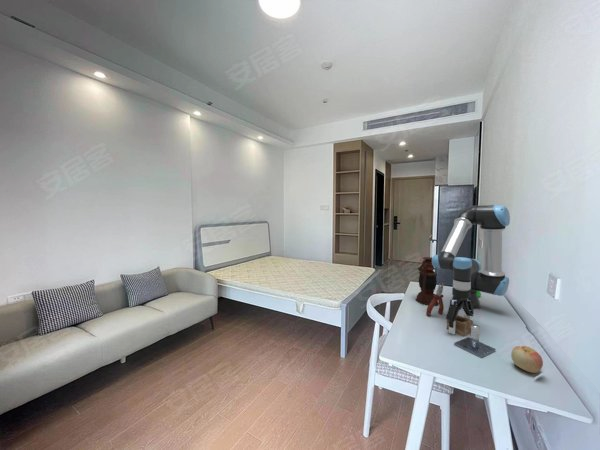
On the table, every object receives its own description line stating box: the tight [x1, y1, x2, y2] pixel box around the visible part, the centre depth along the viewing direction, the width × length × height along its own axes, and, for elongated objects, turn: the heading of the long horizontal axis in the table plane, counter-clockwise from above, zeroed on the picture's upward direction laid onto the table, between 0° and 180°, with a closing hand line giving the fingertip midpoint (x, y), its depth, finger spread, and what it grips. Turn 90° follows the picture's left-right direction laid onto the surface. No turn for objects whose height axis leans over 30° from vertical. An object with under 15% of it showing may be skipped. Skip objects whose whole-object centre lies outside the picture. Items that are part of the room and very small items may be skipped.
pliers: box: [426, 282, 445, 317], centre depth 138 cm, size 11×20×3 cm
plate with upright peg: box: [453, 323, 496, 359], centre depth 106 cm, size 11×11×10 cm
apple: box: [510, 345, 544, 374], centre depth 92 cm, size 9×9×8 cm
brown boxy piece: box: [446, 314, 474, 337], centre depth 122 cm, size 8×8×6 cm
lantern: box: [415, 256, 439, 307], centre depth 158 cm, size 17×14×30 cm
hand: (459, 330), depth 122 cm, fingers open, 12 cm apart
